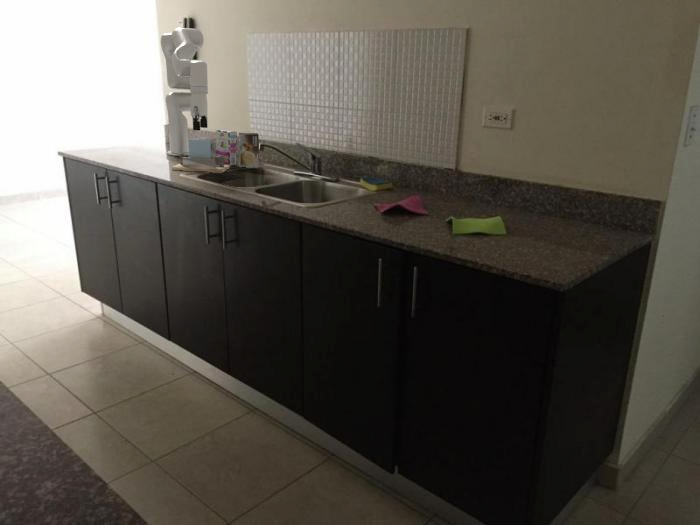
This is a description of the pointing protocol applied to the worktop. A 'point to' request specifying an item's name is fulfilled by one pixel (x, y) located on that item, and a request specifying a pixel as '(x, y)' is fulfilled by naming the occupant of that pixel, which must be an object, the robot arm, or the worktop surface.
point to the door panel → (201, 148)
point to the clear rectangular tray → (202, 164)
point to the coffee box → (249, 150)
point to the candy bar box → (227, 146)
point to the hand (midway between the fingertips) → (200, 128)
